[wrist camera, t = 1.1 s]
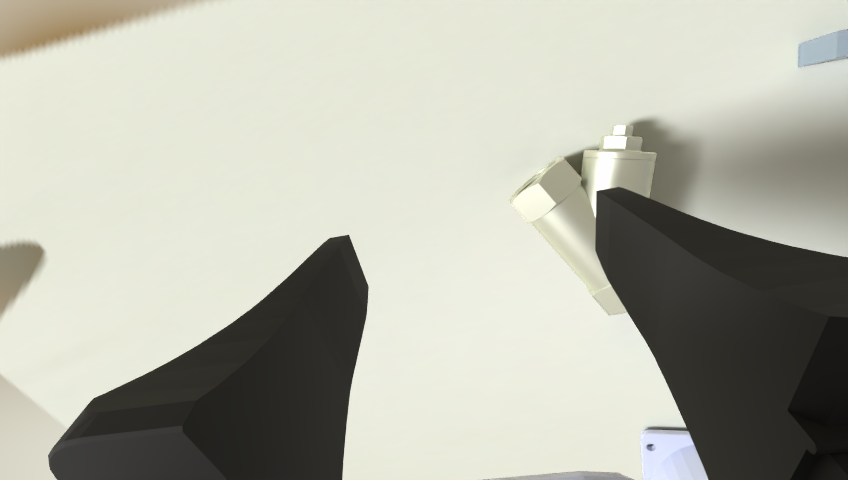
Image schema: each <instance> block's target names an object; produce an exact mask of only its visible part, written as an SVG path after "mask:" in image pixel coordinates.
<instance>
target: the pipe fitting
mask: <svg viewBox="0 0 848 480" xmlns="http://www.w3.org/2000/svg"><path fill="white" fill-rule="evenodd" d="M632 133H633V126H613V127H612V133H611V136H602V137H601V141H600V148H599V150H585V151H584V154H583V157H590V158H583V162H582V170H581V177H580V176H579V175H578V173H577V172H576V171H575V170H574V169H573V168H572V167H571V165H570V164H569V163H568V162H567V161H566V160H565V159H564V158H563V157H558V158H556V159H555V160H553V161H552V162H551V163H549V164H548V165H547V166H545V167H544V168H543V169H542V170H540V171H539V172H538V173H537V174H535V175H534V176H533V177H532V178H531V179H530V180H528V181H527V182H526V183H525V184H524V185H523V186H522V187H521V188H519V189H518V190H517V191H516V192H515V193H514V194H513V195H512V197H511V198H510V199H509V201H510V203H511V205H512V206H513V207H514V208H515V209H516V210H517V212H518V213H519V214H520V215H521V216H522V217H523V218H524V219H525V221H526V222H527V223H531V224H532V225H533V226H534V227H535V228H536V230H537V231H538V232H539V233H540V234H541V235H542V236H543V238H544V239H545V240H546V241H547V242H548V243H549V244H550V246H551V247H552V248H553V249H554V250H555V251H556V252H557V254H558V255H559V256H560V257H561V258H562V259H563V260H564V261H565V263H566V264H567V265H568V266H569V267H570V268H571V269H572V271H573V272H574V273H575V274H576V275H577V276H578V277H579V279H580V280H581V281H582V282H583V283H584V284H585V285H586V287H587V289H588V291H589V292H590V294H591V295H592V297H593V298H594V299H595V300H596V301H597V303H598V304H599V305H600V306H601V307H602V308H603V309H604V310H605V312H606V313H607V314H608V315H615V314H621V313H625V312H627V311H626V309H625V307H624V306H623V304H622V303H621V301H620V299H619V298H618V296H617V294H616V293H615V291H614V289H613V288H612V286H611V285H610V283H609V281H608V279H607V277H606V275H605V273H604V271H603V268H602V266H601V264H600V261H599V259H598V256H597V254H596V251H595V236H596V191H598V190H604V189H610V188H615V187H622V188H625V189H628V190H630V191H633V192H635V193H638V194H640V195H642V196H645V197H647V198H650V192H651V186H652V180H653V173H654V167H655V160H656V156H657V153H655V152H641V146H642V140H643V138H641V137H638V136H632ZM608 158H614V159H608ZM632 159H638V160H632Z"/></svg>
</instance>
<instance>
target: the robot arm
mask: <svg viewBox="0 0 848 480" xmlns="http://www.w3.org/2000/svg"><path fill="white" fill-rule="evenodd" d="M595 251H596V254H597V256H598V259H599V261H600V264H601V266H602V268H603V271H604V273H605V275H606V277H607V279H608V281H609V283H610V285H611V286H612V288H613V289H614V291H615V293H616V294H617V296H618V298H619V299H620V301H621V303H622V304H623V306H624V307H625V309H626V311H627V312H628V314H629V315H630V317H631V319H632V320H633V322H634V323H635V325H636V327H637V328H638V330H639V331H640V333H641V335H642V336H643V338H644V339H645V341H646V343H647V344H648V346H649V348H650V350H651V352H652V353H653V355H654V357H655V359H656V361H657V363H658V366H659V368H660V370H661V372H662V374H663V376H664V378H665V380H666V382H667V384H668V387H669V389H670V391H671V393H672V395H673V398H674V400H675V402H676V404H677V406H678V409H679V411H680V413H681V415H682V418H683V420H684V422H685V424H686V427H687V429H688V431H675V430H644V431H642V433H641V435H640V441H641V457H642V474H643V480H848V257H842V256H836V255H831V254H826V253H821V252H816V251H812V250H807V249H802V248H797V247H792V246H788V245H784V244H780V243H776V242H772V241H768V240H765V239H761V238H757V237H754V236H750V235H747V234H743V233H739V232H736V231H733V230H730V229H727V228H724V227H721V226H718V225H715V224H712V223H710V222H707V221H704V220H701V219H698V218H696V217H693V216H691V215H688V214H685V213H683V212H680V211H678V210H675V209H673V208H671V207H668V206H666V205H664V204H661V203H659V202H656V201H654V200H652V199H649V198H647V197H645V196H642V195H640V194H638V193H635V192H633V191H630V190H628V189H625V188H622V187H615V188H610V189H604V190H598V191H596V236H595ZM367 303H368V284H367V282H366V279H365V276H364V274H363V271H362V268H361V266H360V263H359V260H358V258H357V255H356V253H355V250H354V247H353V245H352V242H351V239H350V237H349V235H345V236H340V237H334V238H330V239H328V240H327V241H326V242H324V243H323V244H322V245H321V246H320V247H319V248H318V249H317V250H316V251H315V252H314V253H313V254H312V255H311V256H310V257H308V258H307V259H306V260H305V261H304V262H303V263H302V264H301V265H300V266H299V267H298V268H297V269H296V270H295V271H294V272H293V273H292V274H291V275H290V276H289V277H288V278H287V279H285V280H284V281H283V282H282V283H281V284H280V285H279V286H278V287H276V288H275V289H274V290H273V291H272V292H271V293H270V294H269V295H267V296H266V297H265V298H264V299H263V300H262V301H260V302H259V303H258V304H257V305H255V306H254V307H253V308H252V309H250V310H249V311H248V312H246V313H245V314H244V315H242V316H241V317H240V318H238V319H237V320H236V321H234V322H233V323H231V324H230V325H229V326H227V327H226V328H224V329H222V330H221V331H219V332H218V333H216V334H215V335H213V336H212V337H210V338H208V339H207V340H205V341H204V342H202V343H201V344H199V345H198V346H196V347H194V348H193V349H191V350H189V351H187V352H186V353H184V354H182V355H181V356H179V357H177V358H175V359H173V360H172V361H170V362H168V363H166V364H164V365H162V366H160V367H159V368H157V369H155V370H153V371H151V372H149V373H147V374H145V375H143V376H141V377H139V378H137V379H135V380H132V381H130V382H128V383H126V384H124V385H122V386H120V387H118V388H116V389H113V390H111V391H109V392H107V393H105V394H103V395H100V396H98V397H96V398H94V399H93V400H92V401H91V402H90V403H89V404H88V405H87V407H86V408H85V409H84V410H83V411H82V413H81V414H80V415H79V416H78V418H77V419H76V420H75V421H74V422H73V424H72V425H71V426H70V427H69V429H68V430H67V431H66V432H65V434H64V435H63V436H62V437H61V439H60V440H59V441H58V442H57V443H56V445H55V446H54V447H53V449H52V450H51V452H50V453H49V455H48V458H49V466H50V470H51V471H52V473H53V474H54V476H55V477H56V479H57V480H342V472H343V457H344V445H345V434H346V423H347V414H348V405H349V396H350V389H351V384H352V378H353V374H354V369H355V365H356V360H357V356H358V352H359V347H360V343H361V338H362V334H363V329H364V324H365V320H366V314H367ZM648 444H653V446H647V445H648ZM484 480H634V479H632V478H629V477H627V476H624V475H622V474H620V473H610V472H588V471H576V472H564V473H553V474H542V475H530V476H519V477H507V478H496V479H484Z"/></svg>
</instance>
